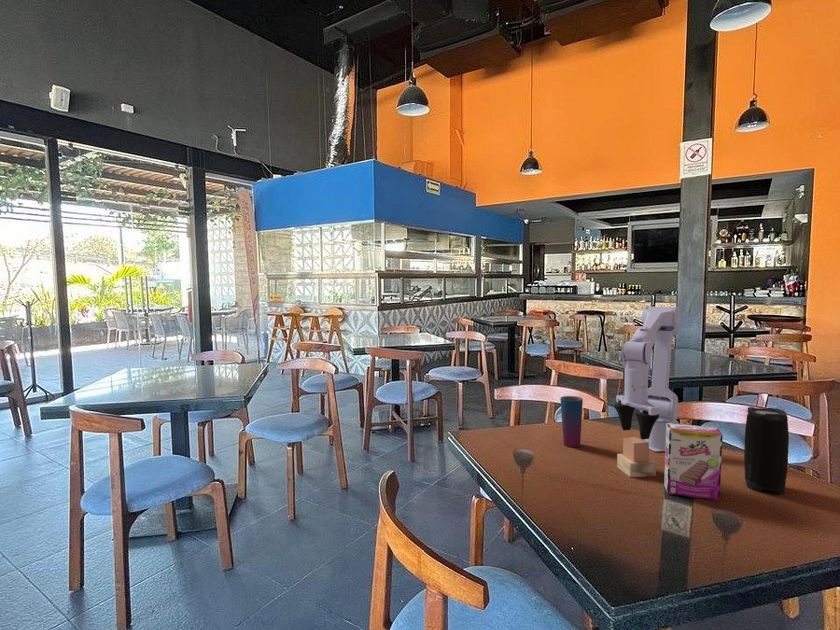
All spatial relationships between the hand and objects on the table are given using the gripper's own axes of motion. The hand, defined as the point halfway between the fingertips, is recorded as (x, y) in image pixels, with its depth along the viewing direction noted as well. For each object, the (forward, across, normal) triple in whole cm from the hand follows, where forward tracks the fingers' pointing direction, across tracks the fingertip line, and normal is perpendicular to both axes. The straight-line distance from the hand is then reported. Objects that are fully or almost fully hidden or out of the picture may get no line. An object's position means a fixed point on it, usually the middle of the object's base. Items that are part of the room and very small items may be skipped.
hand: (635, 434), depth 124 cm
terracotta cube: (+6, +1, -1) cm, 6 cm away
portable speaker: (+10, +17, +23) cm, 31 cm away
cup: (+10, -22, -7) cm, 25 cm away
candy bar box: (+10, +16, +3) cm, 19 cm away
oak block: (+10, +1, -1) cm, 10 cm away
